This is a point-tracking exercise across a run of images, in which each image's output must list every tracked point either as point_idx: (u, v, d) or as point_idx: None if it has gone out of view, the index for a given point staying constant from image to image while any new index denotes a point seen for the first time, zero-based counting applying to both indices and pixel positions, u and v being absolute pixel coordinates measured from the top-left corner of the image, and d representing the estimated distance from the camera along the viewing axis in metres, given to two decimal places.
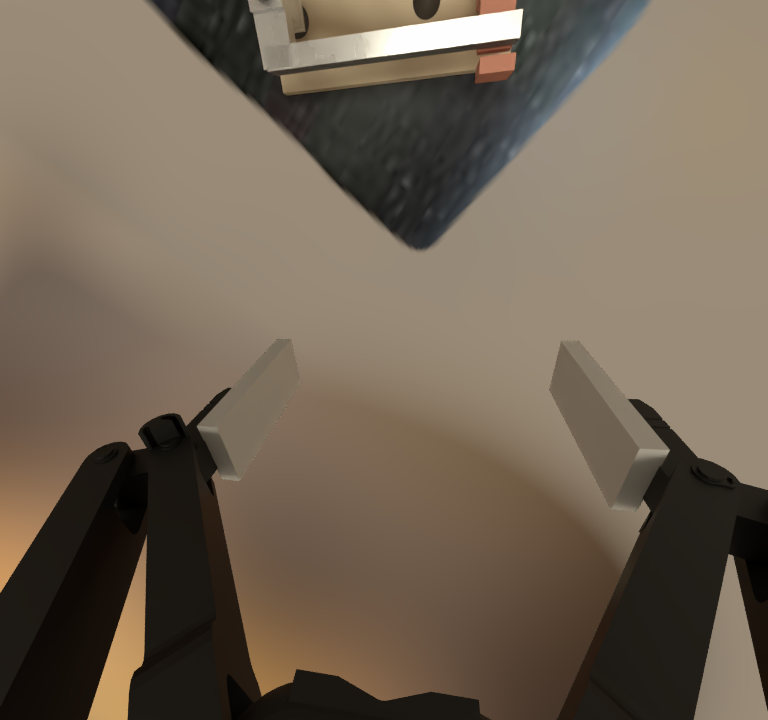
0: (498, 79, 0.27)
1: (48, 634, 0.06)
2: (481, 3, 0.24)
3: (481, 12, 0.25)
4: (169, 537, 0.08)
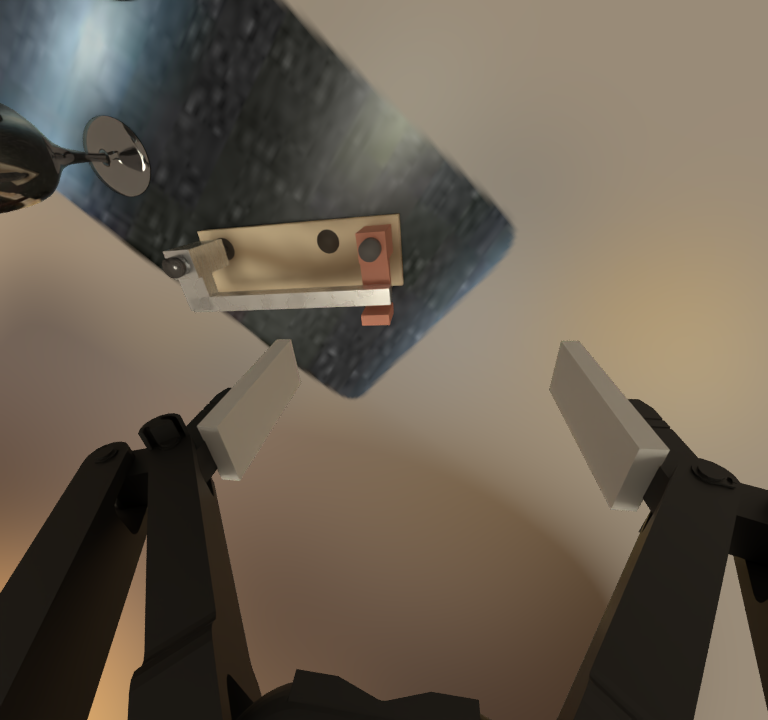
0: None
1: (48, 634, 0.06)
2: (361, 270, 0.30)
3: (362, 276, 0.30)
4: (169, 537, 0.08)
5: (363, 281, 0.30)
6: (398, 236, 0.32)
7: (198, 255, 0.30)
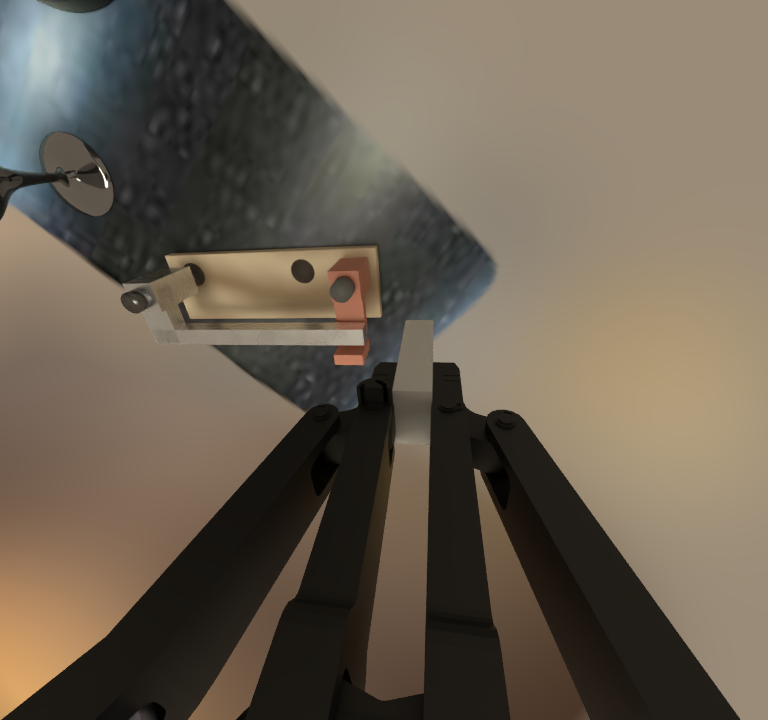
0: None
1: (232, 568, 0.07)
2: (334, 307, 0.28)
3: (336, 313, 0.29)
4: (347, 493, 0.08)
5: (337, 318, 0.29)
6: (376, 269, 0.31)
7: (161, 287, 0.28)
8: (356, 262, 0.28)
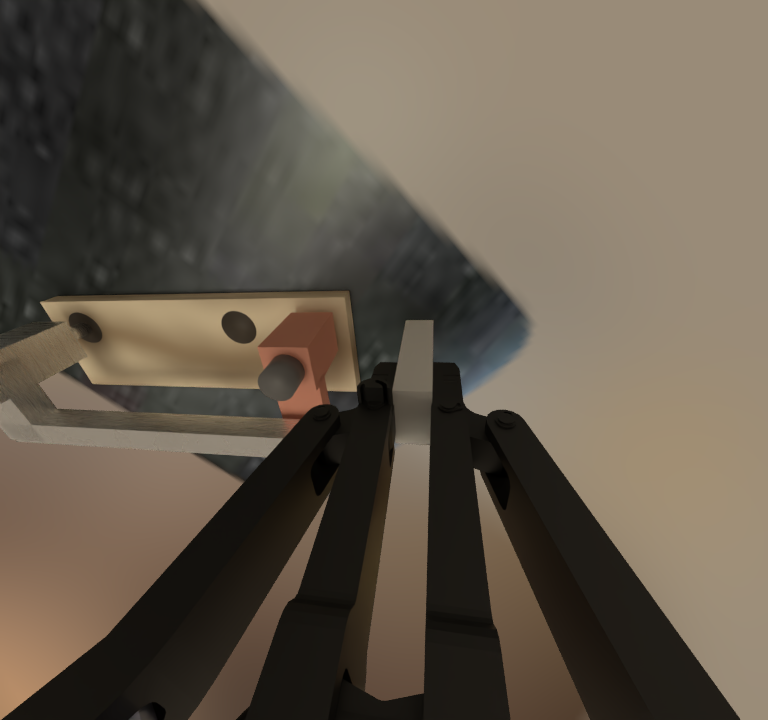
0: None
1: (232, 568, 0.07)
2: None
3: (280, 403, 0.18)
4: (347, 493, 0.08)
5: (282, 410, 0.18)
6: (346, 327, 0.20)
7: None
8: (311, 324, 0.18)
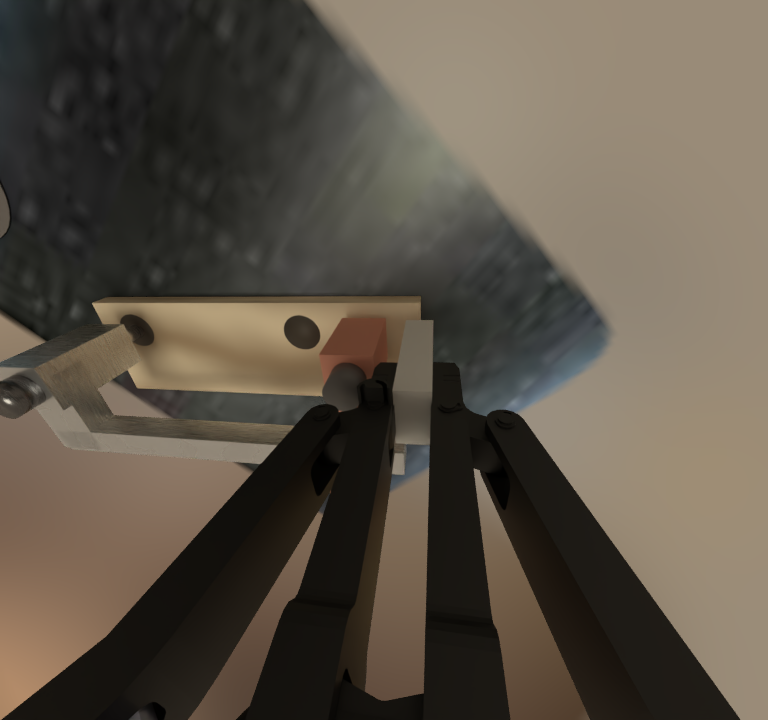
0: None
1: (232, 568, 0.07)
2: None
3: None
4: (347, 493, 0.08)
5: None
6: None
7: (63, 370, 0.17)
8: (368, 331, 0.17)
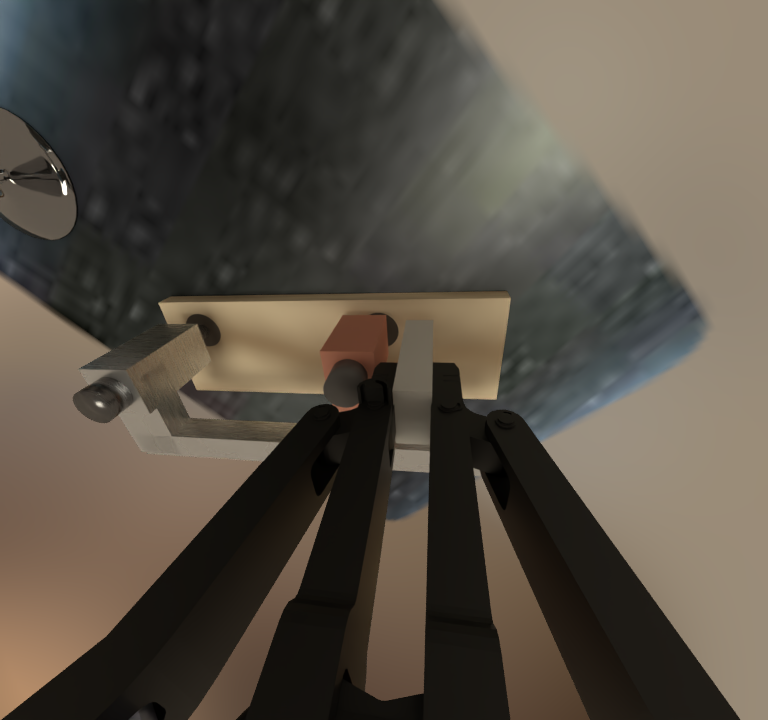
0: None
1: (232, 568, 0.07)
2: None
3: None
4: (347, 493, 0.08)
5: None
6: (504, 330, 0.19)
7: (149, 371, 0.16)
8: (369, 328, 0.17)
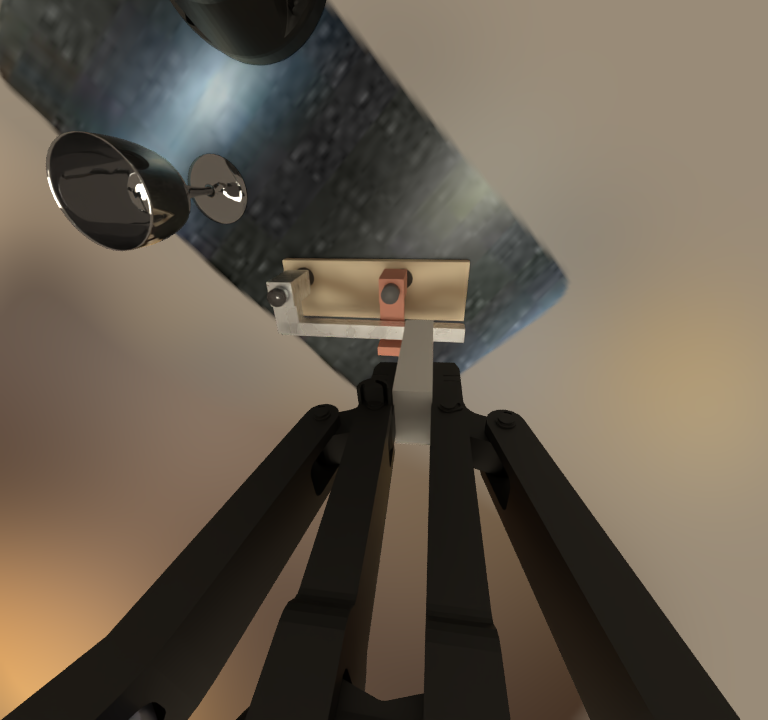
0: None
1: (232, 568, 0.07)
2: (380, 308, 0.35)
3: (380, 313, 0.35)
4: (347, 493, 0.08)
5: (381, 317, 0.35)
6: (467, 280, 0.37)
7: (295, 286, 0.34)
8: (399, 272, 0.35)
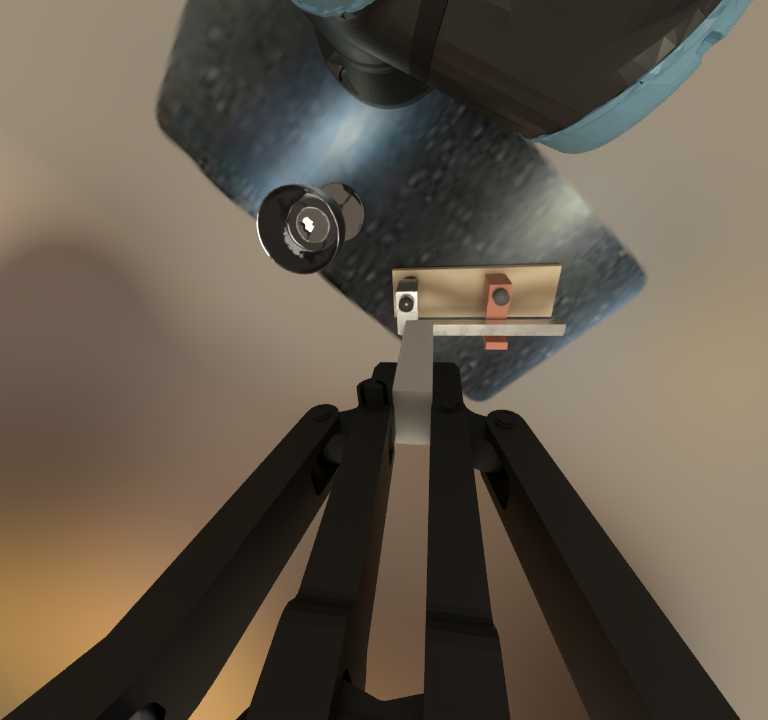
0: None
1: (233, 568, 0.07)
2: (487, 309, 0.41)
3: (487, 313, 0.41)
4: (347, 493, 0.08)
5: (487, 316, 0.41)
6: (557, 281, 0.42)
7: (417, 294, 0.40)
8: (502, 278, 0.41)
